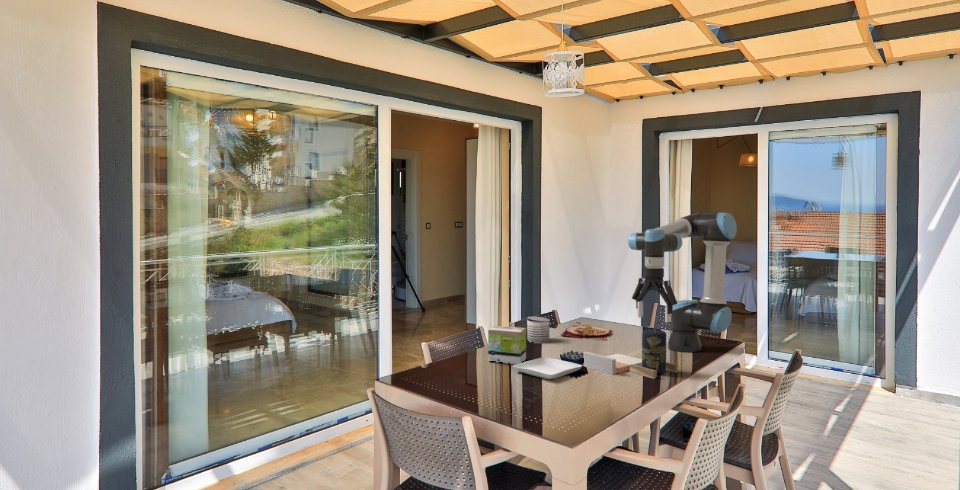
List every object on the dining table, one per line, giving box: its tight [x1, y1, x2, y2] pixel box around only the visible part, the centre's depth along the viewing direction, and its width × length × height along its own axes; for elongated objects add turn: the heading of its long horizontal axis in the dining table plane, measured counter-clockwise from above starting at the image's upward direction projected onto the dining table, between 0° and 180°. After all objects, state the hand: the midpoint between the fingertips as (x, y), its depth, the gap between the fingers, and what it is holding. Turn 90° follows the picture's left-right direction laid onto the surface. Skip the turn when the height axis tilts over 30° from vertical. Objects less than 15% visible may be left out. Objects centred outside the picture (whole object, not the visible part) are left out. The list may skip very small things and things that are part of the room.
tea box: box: [487, 325, 527, 365], centre depth 254 cm, size 15×10×15 cm, turn 70°
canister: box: [641, 328, 667, 375], centre depth 234 cm, size 10×10×18 cm
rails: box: [629, 361, 679, 380], centre depth 234 cm, size 16×12×3 cm
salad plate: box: [512, 356, 583, 380], centre depth 236 cm, size 21×21×3 cm
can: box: [526, 316, 550, 344], centre depth 293 cm, size 11×11×12 cm
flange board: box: [582, 351, 642, 375], centre depth 244 cm, size 22×16×6 cm
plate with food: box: [559, 321, 614, 341], centre depth 309 cm, size 25×26×4 cm
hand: (653, 319), depth 233 cm, fingers open, 13 cm apart
